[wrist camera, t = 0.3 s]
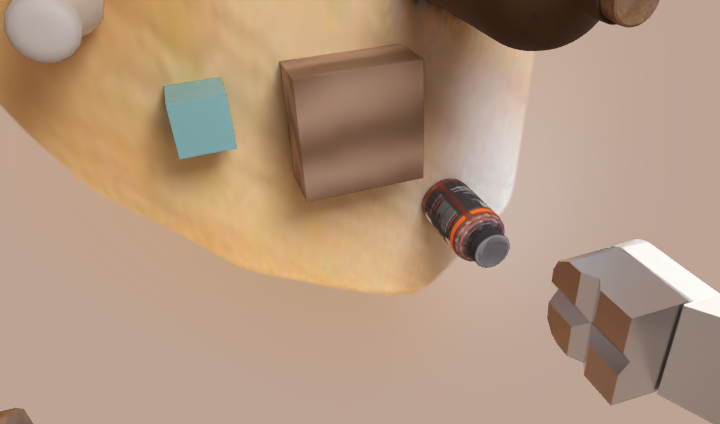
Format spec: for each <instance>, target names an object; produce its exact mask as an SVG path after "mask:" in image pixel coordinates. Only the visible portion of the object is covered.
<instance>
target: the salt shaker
mask: <svg viewBox="0 0 720 424" xmlns="http://www.w3.org/2000/svg"><path fill="white" fill-rule="evenodd" d="M103 9H104V0H12V1H11V3H10V4H9V6H8V7H7V9H6V11H5V21H4V30H5V33H6V35H7V37H8V39H9V41H10V43H11V45H12V46H13V47H14V48H16V49H17V50H18V51H19V52H20V53H21V54H22V55H23V56H24V57H27V58H29V59H32V60H35V61H37V62H40V63H58V62H60V61H62V60H64V59H66V58H68V57H70V56H71V55H73V54H74V53H75V51H76V50H77V48H78V47H79V46H80V44H81V41H82V37H83V36H85V35H87V34H89V33H91V32H93V31H94V29H95V28H96V27H97V25H98V24H99V23H100V21H101V20H102V19H103Z"/></svg>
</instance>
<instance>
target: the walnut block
mask: <svg viewBox="0 0 720 424" xmlns="http://www.w3.org/2000/svg"><path fill="white" fill-rule="evenodd" d="M280 69H281V77H282V84H283V92H284V100H285V108H286V116H287V123H288V131H289V139H290V147H291V155H292V162H293V170H294V176H295V178H296V180H297V182H298V184H299V186H300V188H301V190H302V193H303V195H304V197H305V199H306V201H307V202H309V201H313V200H318V199H323V198H328V197H333V196H337V195H342V194H347V193H352V192H357V191H362V190H366V189H371V188H376V187H381V186H386V185H391V184H395V183H400V182H405V181H410V180H415V179H420V178H423V122H424V59H422V58H421V57H419V56H418V55H416V54H415V53H413V52H412V51H410V50H409V49H407V48H406V47H404V46H403V45H401V44H396V45H389V46H382V47H375V48H368V49H361V50H355V51H348V52H341V53H334V54H327V55H320V56H313V57H306V58H300V59H293V60H286V61H280Z"/></svg>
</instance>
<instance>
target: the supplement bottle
mask: <svg viewBox="0 0 720 424" xmlns="http://www.w3.org/2000/svg"><path fill="white" fill-rule="evenodd" d="M423 211H424V214H425V216H426V217H427V219H428V220H429V222H430V223H431V224H432V225H433V226H434V228H435V229H436V230H437V231H438V232H439V234H440V235H441V236H442V237H443V238H444V240H445V241H446V242H447V243H448V244H449V246H450V247H451V248H452V249H453V250H454V252H455V253H456V254H457V255H458V256H459V257H461V258H462V259H464V260H467V261H475V262H476V263H477V264H478V265H479V266H481V267H485V268H488V267H493V266H496V265H497V264H499V263H500V262H502V260H504V258H505V257H506V256H507V254H508V251H509V248H510V247H509V246H510V243H509V240H508V239H507V238H506V237H505V236H504V225H503V222H502V221H501V219H500V218H499V217H498V215H497V214H495V213H494V211H493V210H492V209H491V208H489V207H488V206H487V205H486V204H485V203H484V202H483V201H482V200H481V199H480V198H479V197H478V196H477V195H476V194H475V193H474V192H473V191H472V190H471V189H470V188H469V187H468V186H466V185H465V184H464V183H463V182H461V181H459V180H457V179H446V180H442V181H440V182H438V183H436V184H435V185H434V186H432V187H431V188H430V190H429V191H428V192H427V194H426V196H425V198H424V201H423Z"/></svg>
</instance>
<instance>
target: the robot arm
mask: <svg viewBox="0 0 720 424" xmlns="http://www.w3.org/2000/svg"><path fill="white" fill-rule="evenodd" d="M552 282H553V284H554V285H555V286H556V287H557V288H558V290H557V292H556V293H555V294H554V296H553V297H552V299H551V300H550V301H549V305H548V316H547V317H548V322H549V326H550V330H551V333H552V335H553V337H554V339H555V341H556V342H557V344H558V345H559V347H560V348H561V349H562V350H563V352H564V353H565V354H566V355H567V356H569V357H571V358H574V359H576V360H578V361H581V362H583V363H584V376H585V377H586V378H587V379H588V380H589V381H590V383H591V384H592V385H593V386H594V387H595V388H596V389H597V390H598V391H599V393H600V394H601V395H602V396H603V397H604V398H605V399H606V400H607V402H608V403H609V404H610V405H614V404H617V403H621V402H624V401H627V400H630V399H634V398H637V397H640V396H643V395H647V394H650V393H653V392H656V391H658V392H657V394H658V395H660V396H662V397H664V398H666V399H668V400H669V401H671V402H673V403H675V404H677V405H679V406H681V407H683V408H684V409H686V410H688V411H690V412H692V413H694V414H696V415H698V416H699V417H701V418H703V419H705V420H707V421H709V422H711V423H713V424H720V294H719V293H718V292H716V291H715V290H714V289H712V288H711V287H710V286H708V285H707V284H705V283H704V282H703V281H701V280H699V279H698V278H697V277H696V276H694V275H693V274H691V273H690V272H689V271H687V270H686V269H684V268H683V267H682V266H680V265H679V264H678V263H676V262H675V261H674V260H672V259H671V258H669V257H668V256H667V255H665V254H664V253H663V252H661V251H660V250H658V249H657V248H656V247H654V246H653V245H651V244H650V243H649V242H647V241H644V240H640V239H635V240H632V241H628V242H625V243H621V244H618V245H614V246H612V247H610V248H605V249H601V250H598V251H594V252H591V253H587V254H583V255H580V256H576V257H573V258H569V259H566V260H562V261H559V262H558V263H557V265H556V266H555V268H554V269H553V276H552ZM0 424H33V423H32V421H31V420H30V418H29V416H28V415H27V413H26V412H25V410H24V409H20V408H13V409H9V410H5V411H1V412H0Z"/></svg>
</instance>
